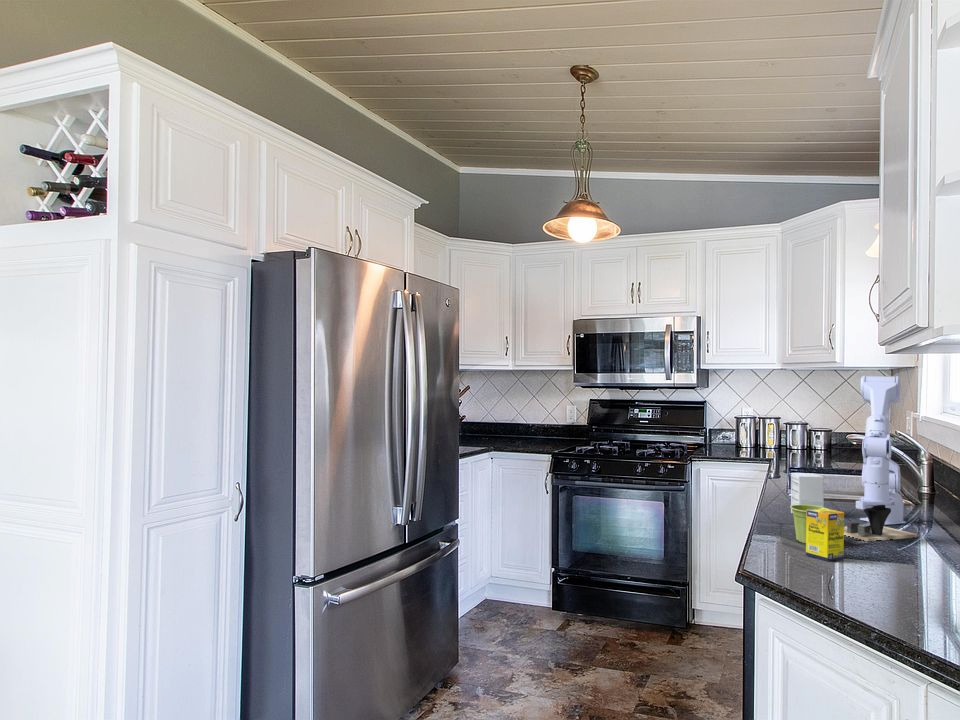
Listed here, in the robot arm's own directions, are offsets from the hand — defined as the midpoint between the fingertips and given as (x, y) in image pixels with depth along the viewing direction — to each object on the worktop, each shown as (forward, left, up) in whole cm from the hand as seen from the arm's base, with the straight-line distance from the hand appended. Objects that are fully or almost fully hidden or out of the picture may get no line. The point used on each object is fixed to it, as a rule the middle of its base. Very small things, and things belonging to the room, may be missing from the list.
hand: (876, 534), depth 183 cm
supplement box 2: (+29, +10, -2) cm, 30 cm away
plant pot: (+20, -3, -2) cm, 20 cm away
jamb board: (-4, -5, -1) cm, 7 cm away
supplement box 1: (-7, -30, -2) cm, 31 cm away
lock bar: (-1, -3, 0) cm, 3 cm away
